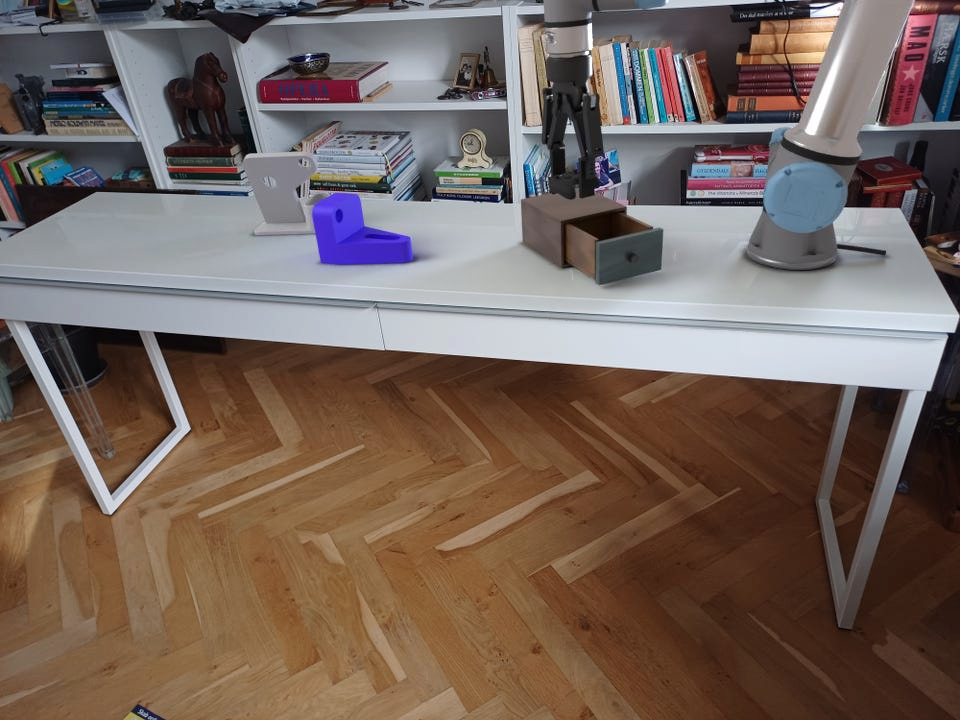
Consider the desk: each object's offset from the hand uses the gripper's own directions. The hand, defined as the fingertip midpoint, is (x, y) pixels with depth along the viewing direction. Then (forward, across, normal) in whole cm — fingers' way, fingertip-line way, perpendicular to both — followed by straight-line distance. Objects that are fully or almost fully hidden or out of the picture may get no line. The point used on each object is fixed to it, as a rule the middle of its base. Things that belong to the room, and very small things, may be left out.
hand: (572, 191), depth 131 cm
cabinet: (+15, -9, +6) cm, 18 cm away
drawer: (+14, +4, +5) cm, 15 cm away
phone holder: (+13, -59, -37) cm, 71 cm away
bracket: (+14, -30, -29) cm, 44 cm away
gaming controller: (0, 0, 0) cm, 0 cm away
